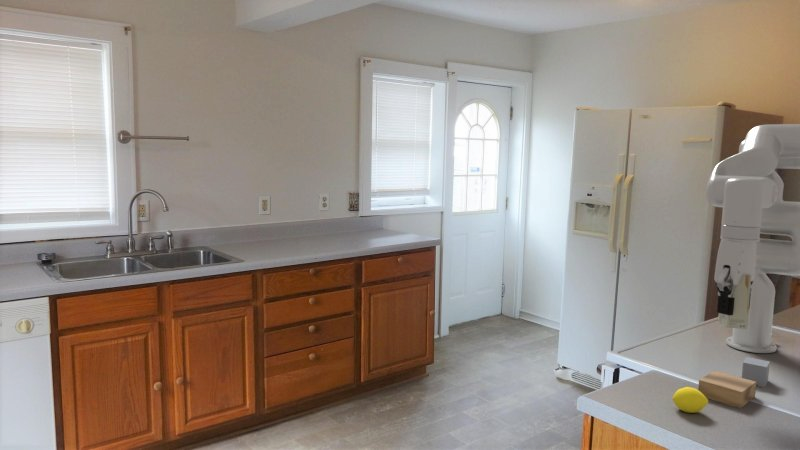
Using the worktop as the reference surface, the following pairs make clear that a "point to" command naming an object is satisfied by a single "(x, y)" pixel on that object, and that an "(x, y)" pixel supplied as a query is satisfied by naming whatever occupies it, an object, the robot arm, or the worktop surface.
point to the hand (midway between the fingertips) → (733, 310)
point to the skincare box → (738, 306)
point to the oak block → (727, 388)
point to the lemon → (689, 400)
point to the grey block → (756, 370)
